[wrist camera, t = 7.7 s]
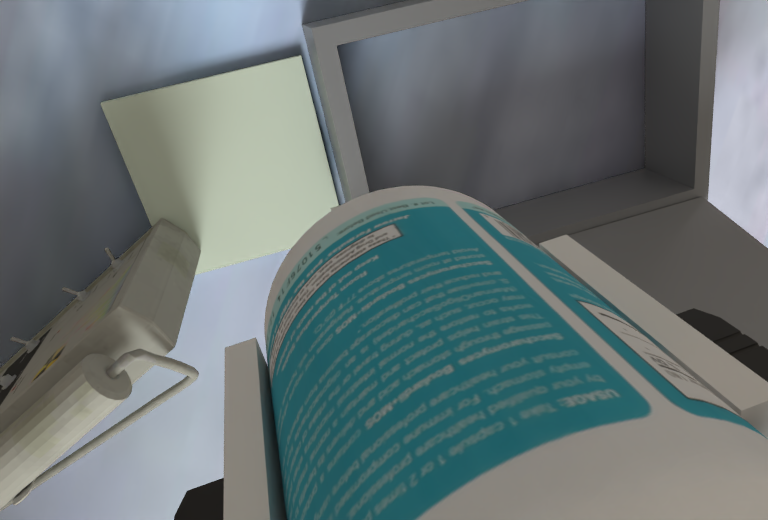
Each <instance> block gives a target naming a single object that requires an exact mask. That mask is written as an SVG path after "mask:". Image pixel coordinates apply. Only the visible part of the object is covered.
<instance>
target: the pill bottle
mask: <svg viewBox="0 0 768 520" xmlns="http://www.w3.org/2000/svg"><path fill="white" fill-rule="evenodd" d="M265 342H266V352H267V362H268V370H269V378H270V386H271V395H272V403H273V411H274V419H275V428H276V436H277V444H278V452H279V460H280V469H281V477H282V485H283V493H284V501H285V510H286V518H287V520H768V439H767V438H766V437H765V436H764V435H763V434H762V433H760V432H759V431H758V430H757V429H756V428H754V427H753V426H752V425H751V424H750V423H748V422H747V421H746V420H745V419H744V418H742V417H741V416H740V415H739V414H738V413H736V412H735V411H734V410H733V409H732V408H730V407H729V406H728V405H727V404H726V403H724V402H723V401H722V400H721V399H719V398H718V397H717V396H716V395H715V394H714V393H713V392H711V391H710V390H709V389H707V388H706V387H705V386H704V385H703V384H702V383H700V382H699V381H698V380H697V379H696V378H694V377H693V376H692V375H691V374H690V373H688V372H687V371H686V370H685V369H684V368H682V367H681V366H680V365H679V364H677V363H676V362H675V361H674V360H673V359H671V358H670V357H669V356H668V355H667V354H665V353H664V352H663V351H662V350H661V349H659V348H658V347H657V346H656V345H655V344H654V343H653V342H651V341H650V340H649V339H648V338H647V337H645V336H644V335H643V334H641V333H640V332H639V331H638V330H637V329H636V328H634V327H633V326H632V325H631V324H629V323H628V322H627V321H626V320H624V319H623V318H622V317H621V316H620V315H619V314H617V313H616V312H615V311H614V310H613V309H611V308H610V307H609V306H608V305H607V304H605V303H604V302H603V301H602V300H601V299H599V298H598V297H597V296H596V295H595V294H593V293H592V292H591V291H590V290H589V289H587V288H586V287H585V286H584V285H583V284H581V283H580V282H579V281H578V280H577V279H575V278H574V277H573V276H572V275H571V274H570V273H568V272H567V271H566V270H565V269H564V268H562V267H561V266H560V265H559V264H558V263H557V262H555V261H554V260H553V259H552V258H551V257H550V256H548V255H547V254H546V253H545V252H544V251H542V250H541V249H540V248H539V247H538V246H536V245H535V244H534V243H533V242H532V241H530V240H529V239H528V238H527V237H526V236H525V235H523V234H522V233H521V232H520V231H518V230H517V229H516V228H515V227H514V226H512V225H511V224H510V223H509V222H507V221H506V220H505V219H503V218H502V217H501V216H500V215H499V214H497V213H496V212H495V211H494V210H493V209H491V208H490V207H488V206H486V205H485V204H483V203H482V202H480V201H478V200H476V199H474V198H472V197H469V196H467V195H465V194H462V193H459V192H456V191H453V190H449V189H444V188H439V187H434V186H400V187H393V188H386V189H382V190H378V191H374V192H371V193H368V194H364V195H362V196H359V197H357V198H355V199H352V200H350V201H348V202H346V203H344V204H342V205H341V206H339V207H337V208H336V209H334V210H332V211H331V212H329V213H328V214H326V215H325V216H324V217H322V218H321V219H320V220H318V221H317V222H316V223H315V224H314V225H313V226H312V227H311V228H310V229H308V230H307V231H306V232H305V233H304V234H303V235H302V236H301V238H300V239H299V240H298V241H297V242H296V243H295V245H294V246H293V247H292V249H291V250H290V251H289V253H288V254H287V256H286V257H285V259H284V261H283V262H282V264H281V266H280V268H279V270H278V272H277V274H276V276H275V279H274V281H273V283H272V286H271V290H270V293H269V296H268V301H267V306H266V312H265Z"/></svg>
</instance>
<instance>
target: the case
mask: <svg viewBox="0 0 768 520" xmlns="http://www.w3.org/2000/svg"><path fill="white" fill-rule="evenodd" d="M523 1H527V0H406V1H402V2H397V3H393V4H389V5H384V6H380V7H376V8H371V9H367V10H363V11H358V12H354V13H350V14H345V15H341V16H337V17H332V18H328V19H324V20H320V21H315V22H311V23H307V24H302V27H303V31H304V35H305V39H306V43H307V47H308V52H309V56H310V60H311V64H312V68H313V72H314V76H315V80H316V84H317V88H318V92H319V96H320V100H321V105H322V109H323V113H324V117H325V121H326V125H327V129H328V133H329V137H330V141H331V145H332V149H333V153H334V157H335V162H336V166H337V170H338V174H339V178H340V182H341V186H342V190H343V194H344V198H345V202H348V201H350V200H352V199H355V198H357V197H359V196H362V195H364V194H368V193H369V188H368V184H367V179H366V175H365V170H364V166H363V162H362V157H361V153H360V148H359V144H358V139H357V135H356V130H355V126H354V121H353V117H352V112H351V108H350V103H349V99H348V94H347V90H346V85H345V81H344V76H343V72H342V68H341V63H340V59H339V54H338V50H337V45H341V44H346V43H350V42H354V41H358V40H363V39H367V38H371V37H375V36H379V35H384V34H388V33H392V32H396V31H400V30H405V29H409V28H413V27H417V26H422V25H426V24H430V23H434V22H438V21H443V20H447V19H451V18H455V17H459V16H464V15H468V14H472V13H476V12H481V11H485V10H489V9H493V8H497V7H502V6H506V5H510V4H514V3H518V2H523ZM719 5H720V0H646V22H645V167H644V168H643V169H640V170H636V171H632V172H629V173H625V174H622V175H618V176H614V177H611V178H607V179H604V180H600V181H597V182H593V183H589V184H586V185H582V186H579V187H575V188H571V189H568V190H564V191H561V192H557V193H554V194H550V195H546V196H543V197H539V198H536V199H532V200H528V201H525V202H521V203H518V204H514V205H511V206H507V207H503V208H500V209H496V210H494V211H495V212H496V213H497V214H499V215H500V216H501V217H502V218H503V219H505V220H506V221H507V222H509V223H510V224H511V225H512V226H514V227H515V228H516V229H517V230H518V231H520V232H521V233H522V234H523V235H525V236H526V237H527V238H528V239H529V240H530V241H532V242H533V243H534V244H535V245H536V246H538V247H539V248H540V246H539V243H542V242H545V241H548V240H551V239H554V238H557V237H560V236H563V235H568V236H569V237H570V238H572V239H573V240H575V241H576V242H577V243H579V244H580V245H581V246H583V247H584V248H585V249H587V250H588V251H590V252H591V253H592V254H594V255H595V256H596V257H598V258H599V259H600V260H602V261H603V262H605V263H606V264H607V265H609V266H610V267H611V268H613V269H614V270H615V271H617V272H618V273H620V274H621V275H622V276H624V277H625V278H626V279H628V280H629V281H630V282H632V283H633V284H635V285H636V286H637V287H639V288H640V289H641V290H643V291H644V292H645V293H647V294H648V295H650V296H651V297H652V298H654V299H655V300H656V301H658V302H659V303H660V304H662V305H663V306H665V307H666V308H667V309H669V310H670V311H671V312H673V313H674V314H675V315H676V314H679V313H682V312H684V311H687V310H690V309H693V308H695V309H697V310H700V311H703V312H706V313H709V314H712V315H715V316H718V317H720V318H722V319H723V320H725V321H726V322H728V323H729V324H731V325H732V326H734V327H735V328H737V329H738V330H740V331H741V333H742V334H746V335H747V336H749V337H750V338H752V339H753V340H755V341H756V342H758V345H759V346H764V347H765V348H767V349H768V248H767V247H765V246H764V245H763V244H761V243H760V242H759V241H758V240H756V239H755V238H754V237H753V236H751V235H750V234H749V233H748V232H746V231H745V230H744V229H742V228H741V227H740V226H739V225H737V224H736V223H735V222H734V221H732V220H731V219H730V218H729V217H727V216H726V215H725V214H724V213H722V212H721V211H720V210H718V209H717V208H716V207H715V206H713V205H712V204H711V203H710V202H708V201H707V200H708V187H709V170H710V154H711V137H712V121H713V104H714V88H715V71H716V54H717V38H718V21H719ZM339 206H341V205H339ZM339 206H336V207H332V208H330V209H331V211H332V210H334V209H336V208H337V207H339Z"/></svg>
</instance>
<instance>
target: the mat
mask: <svg viewBox="0 0 768 520" xmlns="http://www.w3.org/2000/svg"><path fill="white" fill-rule="evenodd" d="M100 104H101V107H102V109H103V111H104V114H105V116H106V119H107V121H108V123H109V126H110V128H111V131H112V133H113V135H114V138H115V140H116V142H117V145H118V147H119V150H120V152H121V154H122V157H123V159H124V162H125V164H126V166H127V169H128V171H129V174H130V176H131V178H132V181H133V183H134V186H135V188H136V190H137V193H138V195H139V198H140V200H141V202H142V205H143V207H144V209H145V212H146V214H147V217H148V219H149V221H150V224H151V226H153V225H155V224H156V223H157V222H158V221H159V220H160V219H161V218H164V219H165V220H167V221H169V222H171V223H172V224H174V225H176V226H177V227H179V228H181V229H182V230H184V231H186V232H187V234H188V235H189V236H190V237H191V239H192V240H193V241H194V242H195V244H196V245H197V246H198V247H199V249H200V250H201V254H200V257H199V261H198V265H197V268H196V272H195V275H197V274H200V273H204V272H208V271H211V270H215V269H219V268H222V267H226V266H229V265H233V264H237V263H240V262H244V261H248V260H251V259H255V258H258V257H262V256H266V255H269V254H273V253H277V252H280V251H284V250H288V249H291V248H292V247H293V246H294V245H295V243H296V242H297V241H298V240H299V239H300V238H301V236H302V235H303V234H304V233H305V232H306V231H307V230H308V229H310V228H311V227H312V226H313V225H314V224H315V223H316V222H317V221H318V220H320V219H321V218H322V217H324V216H325V215H326V214H328V213H329V212H331V209H330V208H332V207H336V206H339V204H338V200H337V196H336V192H335V188H334V184H333V180H332V176H331V172H330V168H329V164H328V160H327V157H326V153H325V149H324V145H323V141H322V137H321V133H320V129H319V125H318V121H317V117H316V113H315V109H314V105H313V101H312V97H311V93H310V89H309V85H308V81H307V77H306V73H305V69H304V65H303V61H302V57H301V55H297V56H293V57H289V58H284V59H280V60H276V61H272V62H267V63H263V64H259V65H255V66H251V67H246V68H242V69H238V70H234V71H230V72H225V73H221V74H217V75H213V76H208V77H204V78H200V79H196V80H192V81H187V82H183V83H179V84H175V85H171V86H166V87H162V88H158V89H154V90H149V91H145V92H141V93H137V94H133V95H128V96H124V97H120V98H116V99H112V100H107V101H103V102H101V103H100Z"/></svg>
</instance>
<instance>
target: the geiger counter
mask: <svg viewBox="0 0 768 520" xmlns="http://www.w3.org/2000/svg"><path fill="white" fill-rule="evenodd" d="M105 252H106V253H107V255H108V256H109V257H110V259H111V260H112V262H111V265H110V266H109V267H108V268H107V269H106V270H105V271H104V272H103V273H102V274H101V275H100V276H99V277H98V278H97V279H96V280H94V281H93V282H92V283H91V284H90V285H89V286H88V287H87V288H86V289H85V290H82V291H80V292H77V291H74V290H71V289H69V288H66V287H63V288H62V290H63V291H65V292H68V293H71V294H74V295H77V297H76V298H75V299H74V300H73V301H72V302H71V303H70V304H69V305H68V306H67V307H65V308H64V309H63V310H62V311H61V312H60V313H59V314H58V315H57V316H56V317H55V318H54V319H53V320H51V321H50V322H49V323H48V324H47V325H46V326H45V327H44V328H43V329H42V330H41V331H40V332H39V333H38V334H36V335H35V336H34V337H33V338H32V339H31V340H29V341H25V340H22V339H19V338H16V337H11V338H10V339H11V341H14V342H18V343H22V344H26V345H25V346H24V347H22V348H21V349H20V350H19V351H18V352H17V353H16V354H15V355H14V356H13V357H12V358H11V359H10V360H9V361H7V362H6V363H5V364H4V365H3V366H2V367H1V368H0V511H2V510H3V509H5V508H6V507H8V506H9V505H11V504H12V503H13V505H17V504H19V503H20V502H21V501H22V500H23V499H25V498H26V497H27V496H28V495H29V494H30V492H31V491H32V490H33V489H35V488H36V487H38V486H39V485H41V484H42V483H44V482H45V481H47V480H48V479H50V478H51V477H53V476H54V475H56V474H57V473H59V472H60V471H62V470H63V469H65V468H66V467H68V466H69V465H71V464H72V463H74V462H75V461H77V460H78V459H80V458H81V457H83V456H84V455H86V454H87V453H89V452H90V451H92V450H93V449H95V448H96V447H98V446H99V445H101V444H102V443H104V442H105V441H107V440H108V439H110V438H111V437H113V436H114V435H116V434H117V433H119V432H120V431H122V430H123V429H125V428H126V427H128V426H129V425H131V424H132V423H134V422H135V421H136V420H138V419H139V418H141V417H142V416H144V415H145V414H147V413H148V412H150V411H151V410H153V409H154V408H156V407H157V406H159V405H160V404H162V403H163V402H165V401H166V400H168V399H169V398H171V397H173V396H174V395H176V394H177V393H179V392H180V391H182V390H183V389H185V388H186V387H188V386H189V385H191V384H192V383H193V382H194V381H195V380H196V379H197V377H198V375H199V373H198V371H197V370H196V369H195V368H194V367H191V366H189V365H187V364H185V363H183V362H180V361H177V360H174V359H172V358H168V357H164V356H165V355H166V354H167V353H169V352H170V351H171V350H172V349H173V348H174V347H175V345H176V342H177V338H178V334H179V331H180V327H181V323H182V320H183V316H184V312H185V309H186V305H187V301H188V298H189V294H190V290H191V287H192V283H193V279H194V276H195V272H196V268H197V265H198V261H199V257H200V254H201V250H200V249H199V247H198V246H197V245H196V244H195V242H194V241H193V240H192V239H191V237H190V236H189V235H188V234H187V232H186V231H184V230H182V229H181V228H179V227H177V226H176V225H174V224H172V223H171V222H169V221H167V220H165V219H164V218H161V219H160V220H159V221H158V222H157V223H156V224H155V225H153V226H152V227H151V228H150V229H149V230H148V231H147V232H146V233H145V234H144V235H143V236H142V237H141V238H140V239H138V240H137V241H136V242H135V243H134V244H133V245H132V246H131V247H130V248H129V249H128V250H127V251H126V252H124V253H123V254H122V255H121V256H120V257H119V258H117V259H115V258H114V257H113V255H112V253H111V251H110V250H109V248H107V247H106V248H105ZM154 365H157V366H161V367H164V368H168V369H171V370H174V371H177V372H179V373H182V374H185V375H187V377H186V378H184V379H183V380H181V381H180V382H178V383H177V384H175V385H174V386H172V387H171V388H169V389H168V390H166V391H165V392H163V393H161V394H160V395H158V396H157V397H155V398H154V399H152V400H151V401H149V402H148V403H147V404H145V405H144V406H142V407H141V408H139V409H138V410H136V411H135V412H133V413H132V414H130V415H129V416H127V417H126V418H124V419H123V420H121V421H120V422H118V423H117V424H115V425H114V426H112V427H111V428H109V429H108V430H106V431H105V432H103V433H102V434H100V435H99V436H97V437H96V438H94V439H93V440H92V441H90V442H89V443H87V444H86V445H84V446H83V447H81V448H80V449H78V450H77V451H75V452H74V453H72V454H71V455H69V456H68V457H66V458H65V459H63V460H62V461H60V462H59V463H57V464H56V465H54V466H53V467H51V468H50V469H48V470H47V471H45V470H46V469H47V468H48V467H49V466H50V465H51V464H52V463H54V462H55V461H56V460H57V459H58V458H59V457H60V456H62V455H63V454H64V453H65V452H66V451H67V450H68V449H70V448H71V447H72V446H73V445H74V444H75V443H76V442H78V441H79V440H80V439H81V438H82V437H83V436H84V435H85V434H87V433H88V432H89V431H90V430H91V429H92V428H93V427H95V426H96V425H97V424H98V423H99V422H100V421H101V420H103V419H104V418H105V417H106V416H107V415H108V414H109V413H111V412H112V411H113V410H114V409H115V408H116V407H117V406H119V405H120V404H121V403H122V402H123V401H124V400H125V399H126V398H128V397H129V395H130V394H131V391H132V384H133V383H134V382H136V381H137V380H138V379H139V378H140V377H141V376H142V375H144V374H145V373H146V372H147V371H148V370H149V369H150V368H151V367H153V366H154ZM43 471H45V472H44V473H42V472H43ZM41 473H42V474H41ZM40 474H41V475H40Z"/></svg>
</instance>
